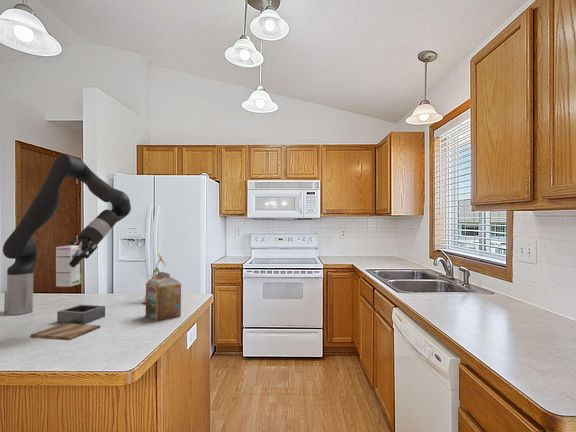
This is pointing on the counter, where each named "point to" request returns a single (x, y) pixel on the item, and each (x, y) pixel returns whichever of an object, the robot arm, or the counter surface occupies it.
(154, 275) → the flower in vase
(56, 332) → the walnut mat
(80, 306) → the square socket
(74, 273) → the syrup box
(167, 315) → the milk carton
